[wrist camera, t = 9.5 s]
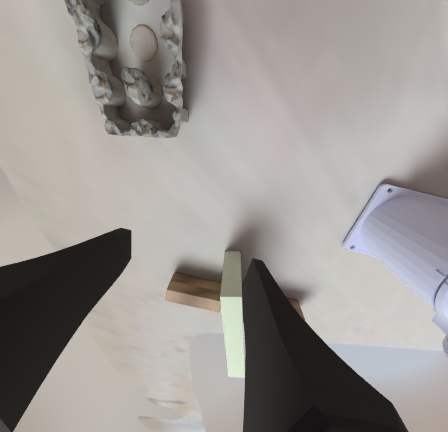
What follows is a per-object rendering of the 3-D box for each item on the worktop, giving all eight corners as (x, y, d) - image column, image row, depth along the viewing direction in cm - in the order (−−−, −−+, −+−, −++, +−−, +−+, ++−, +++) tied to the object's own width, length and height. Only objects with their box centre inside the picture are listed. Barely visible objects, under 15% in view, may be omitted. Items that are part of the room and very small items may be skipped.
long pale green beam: (224, 251, 23) (220, 296, 17) (240, 251, 23) (241, 297, 16) (230, 323, 29) (228, 376, 22) (243, 323, 29) (244, 377, 22)
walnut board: (297, 300, 26) (305, 320, 23) (292, 309, 26) (298, 329, 24) (174, 272, 25) (166, 289, 22) (172, 282, 26) (165, 300, 23)
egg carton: (95, -23, 14) (40, -82, 10) (193, -14, 13) (176, -70, 10) (117, 133, 18) (85, 133, 14) (190, 141, 18) (178, 143, 14)
